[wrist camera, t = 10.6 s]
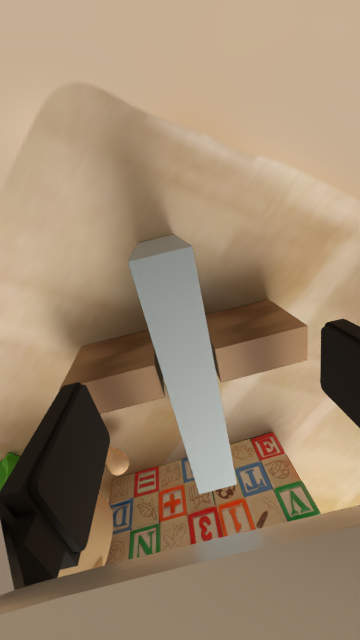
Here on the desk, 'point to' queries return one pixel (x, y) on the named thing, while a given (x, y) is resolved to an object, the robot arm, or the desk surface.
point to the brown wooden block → (227, 348)
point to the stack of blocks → (205, 501)
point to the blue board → (184, 354)
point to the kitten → (102, 517)
